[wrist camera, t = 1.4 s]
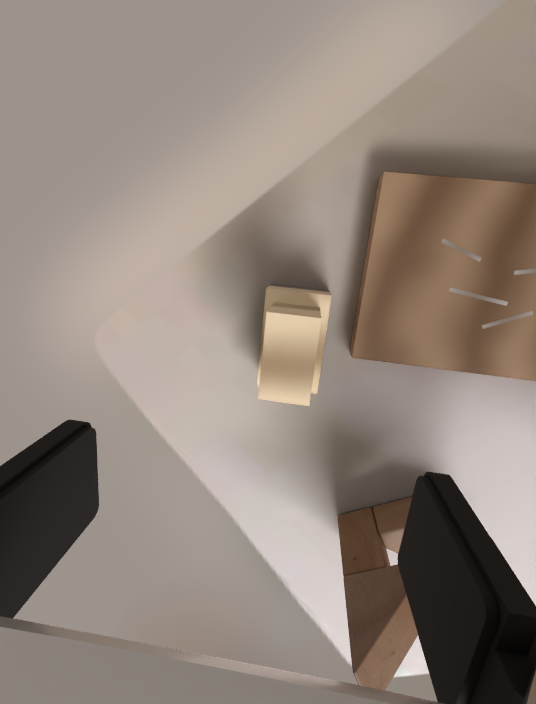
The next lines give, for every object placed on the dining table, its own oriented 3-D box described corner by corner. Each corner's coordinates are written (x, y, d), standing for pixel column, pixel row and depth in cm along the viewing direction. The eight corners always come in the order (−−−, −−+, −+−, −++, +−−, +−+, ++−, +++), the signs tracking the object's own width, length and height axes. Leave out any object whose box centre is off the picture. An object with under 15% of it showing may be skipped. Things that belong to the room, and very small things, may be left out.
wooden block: (336, 513, 36) (359, 756, 18) (445, 485, 33) (588, 731, 16) (348, 542, 36) (382, 802, 19) (455, 517, 34) (603, 784, 17)
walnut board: (660, 200, 26) (688, 196, 24) (592, 381, 29) (612, 390, 27) (379, 177, 27) (384, 171, 25) (349, 351, 31) (352, 357, 29)
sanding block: (271, 284, 30) (256, 294, 22) (329, 290, 30) (336, 303, 22) (262, 371, 33) (245, 410, 24) (316, 379, 32) (318, 421, 24)
